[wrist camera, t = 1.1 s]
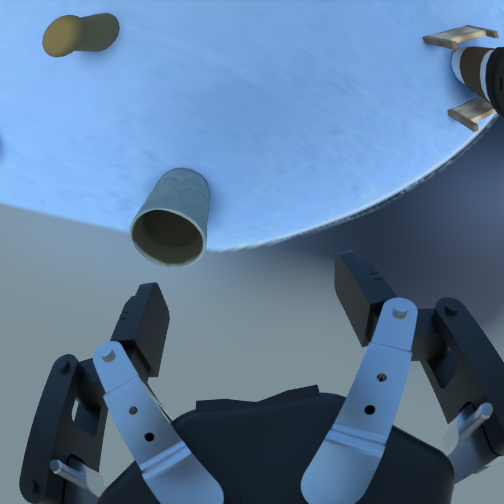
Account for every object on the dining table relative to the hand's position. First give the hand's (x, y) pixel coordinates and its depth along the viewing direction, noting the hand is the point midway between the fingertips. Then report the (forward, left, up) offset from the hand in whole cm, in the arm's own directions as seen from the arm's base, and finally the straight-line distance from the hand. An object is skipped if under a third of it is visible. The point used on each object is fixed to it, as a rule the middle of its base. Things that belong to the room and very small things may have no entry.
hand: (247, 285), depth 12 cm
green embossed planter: (+11, -12, -30) cm, 34 cm away
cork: (-18, -15, -30) cm, 38 cm away
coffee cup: (-6, +37, -30) cm, 48 cm away
